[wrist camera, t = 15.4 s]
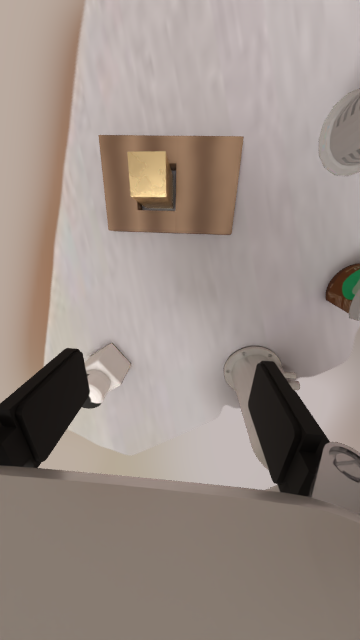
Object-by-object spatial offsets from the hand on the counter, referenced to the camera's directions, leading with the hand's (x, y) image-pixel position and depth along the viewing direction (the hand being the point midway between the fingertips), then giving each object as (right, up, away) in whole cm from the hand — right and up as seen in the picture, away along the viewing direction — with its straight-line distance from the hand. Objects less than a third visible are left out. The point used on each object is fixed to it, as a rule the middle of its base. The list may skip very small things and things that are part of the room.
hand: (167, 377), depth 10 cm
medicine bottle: (-16, -6, +35) cm, 39 cm away
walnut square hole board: (-1, +24, +21) cm, 32 cm away
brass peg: (-3, +24, +21) cm, 32 cm away
